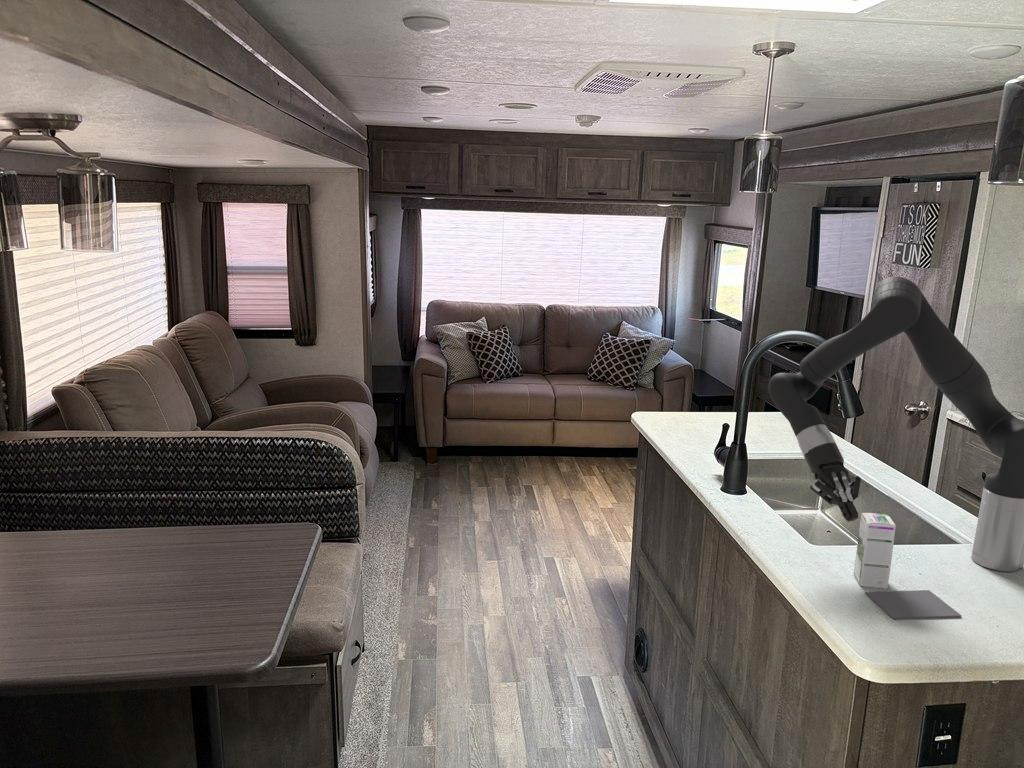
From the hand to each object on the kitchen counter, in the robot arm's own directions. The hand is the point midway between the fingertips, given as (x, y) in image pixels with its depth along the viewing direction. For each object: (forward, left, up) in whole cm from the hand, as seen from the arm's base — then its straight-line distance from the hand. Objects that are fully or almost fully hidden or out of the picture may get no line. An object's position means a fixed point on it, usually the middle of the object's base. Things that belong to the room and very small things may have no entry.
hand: (853, 519), depth 164 cm
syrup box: (-2, +6, -12) cm, 13 cm away
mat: (-5, +16, -11) cm, 20 cm away
